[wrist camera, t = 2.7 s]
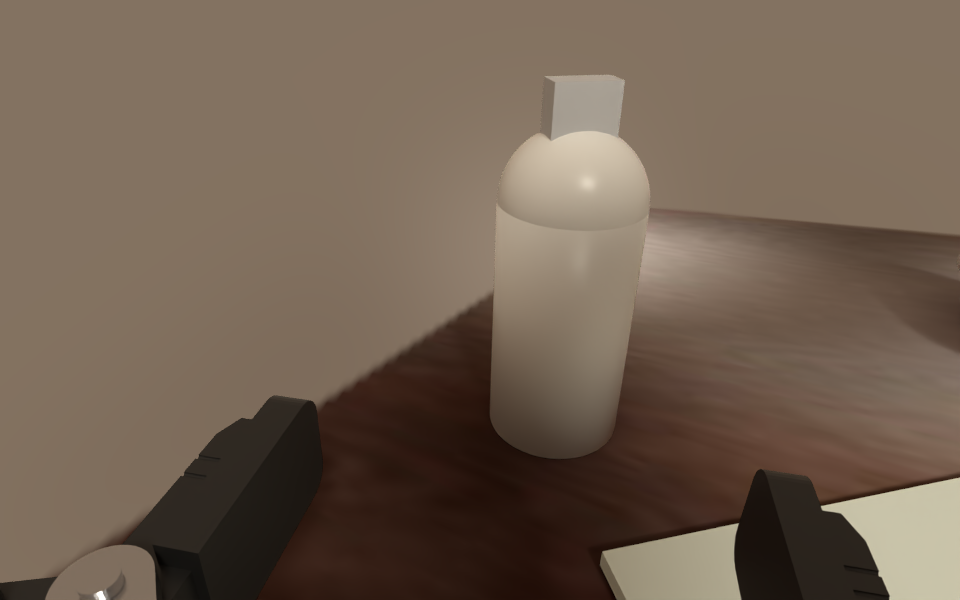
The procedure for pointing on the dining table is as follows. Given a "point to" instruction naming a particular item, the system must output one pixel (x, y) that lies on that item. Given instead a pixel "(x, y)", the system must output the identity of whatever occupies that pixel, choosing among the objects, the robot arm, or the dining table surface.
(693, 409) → the dining table surface
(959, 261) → the video game controller
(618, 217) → the bottle with rectangular cap
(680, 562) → the cream flat board
